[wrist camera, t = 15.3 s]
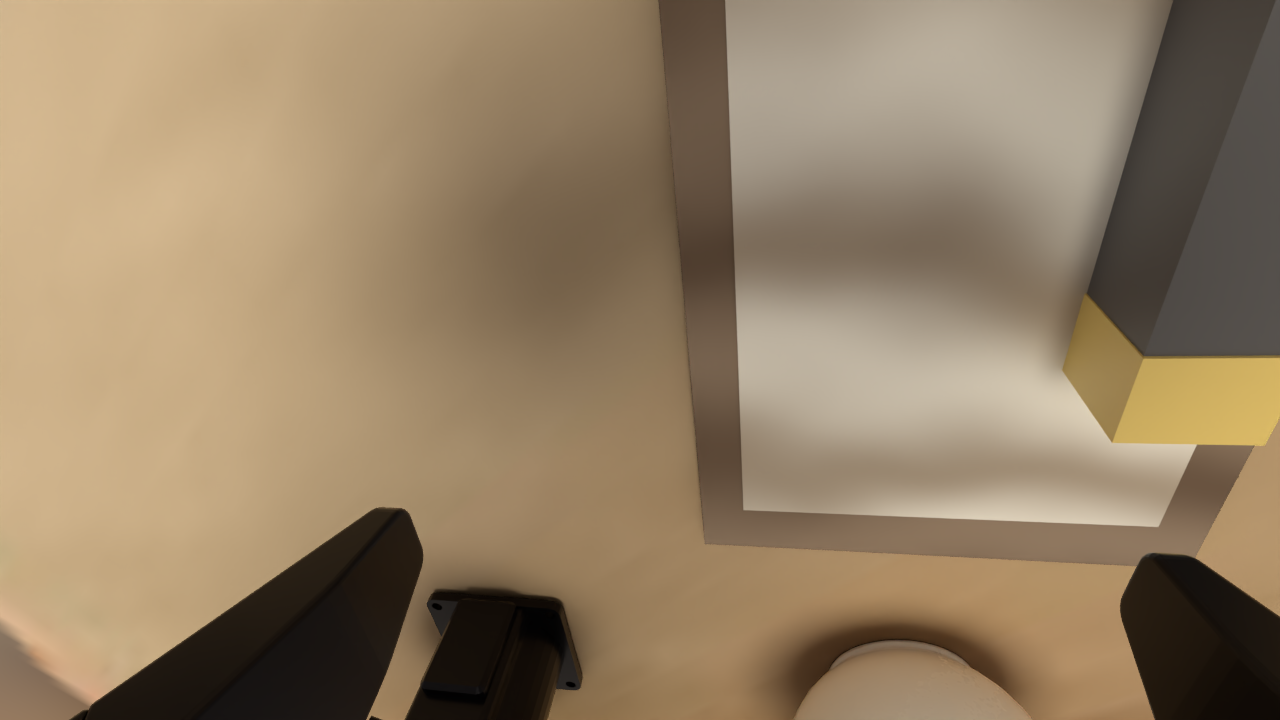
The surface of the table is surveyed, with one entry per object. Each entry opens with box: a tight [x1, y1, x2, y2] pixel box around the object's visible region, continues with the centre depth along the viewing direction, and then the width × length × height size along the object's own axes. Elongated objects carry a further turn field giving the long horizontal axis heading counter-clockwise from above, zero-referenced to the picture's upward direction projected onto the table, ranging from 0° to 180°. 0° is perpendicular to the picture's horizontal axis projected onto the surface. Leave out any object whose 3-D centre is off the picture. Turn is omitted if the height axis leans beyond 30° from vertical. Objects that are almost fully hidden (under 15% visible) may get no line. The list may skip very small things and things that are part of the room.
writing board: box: [659, 0, 1255, 566], centre depth 17 cm, size 22×16×1 cm
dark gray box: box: [1062, 0, 1280, 446], centre depth 12 cm, size 14×3×3 cm, turn 6°
